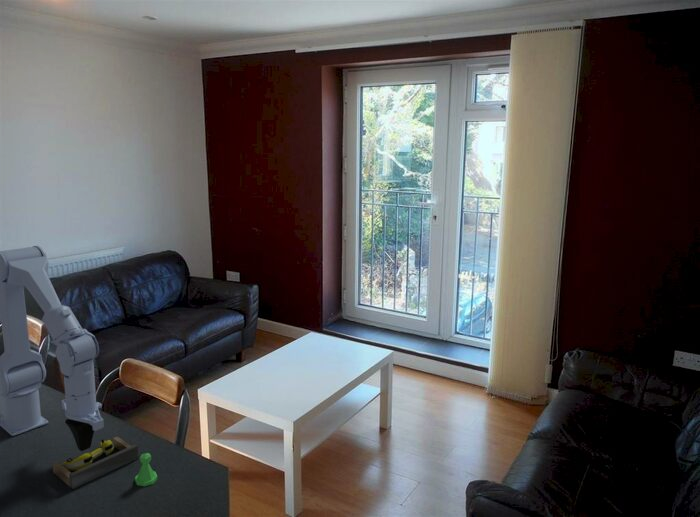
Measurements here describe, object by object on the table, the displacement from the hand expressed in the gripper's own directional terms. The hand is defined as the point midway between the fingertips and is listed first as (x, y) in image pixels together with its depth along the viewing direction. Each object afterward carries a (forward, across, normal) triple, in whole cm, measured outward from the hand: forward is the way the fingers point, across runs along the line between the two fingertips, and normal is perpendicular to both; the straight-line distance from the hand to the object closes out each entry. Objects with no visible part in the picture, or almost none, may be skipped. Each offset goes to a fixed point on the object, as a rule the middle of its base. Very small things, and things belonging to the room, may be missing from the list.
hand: (84, 448), depth 114 cm
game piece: (+2, -17, -4) cm, 18 cm away
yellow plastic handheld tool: (+2, -3, 0) cm, 4 cm away
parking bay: (+2, -4, 0) cm, 5 cm away
